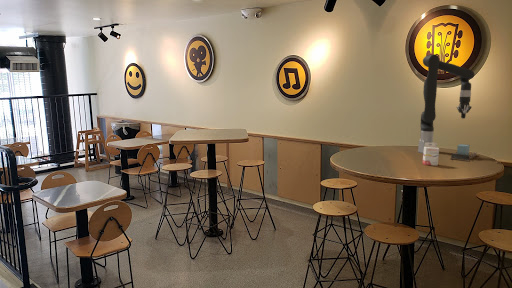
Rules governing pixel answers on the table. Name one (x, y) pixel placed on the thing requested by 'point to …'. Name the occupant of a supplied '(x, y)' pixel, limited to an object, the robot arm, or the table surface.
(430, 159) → the ink cartridge box
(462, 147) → the slate block
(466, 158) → the walnut chute
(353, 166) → the table surface
